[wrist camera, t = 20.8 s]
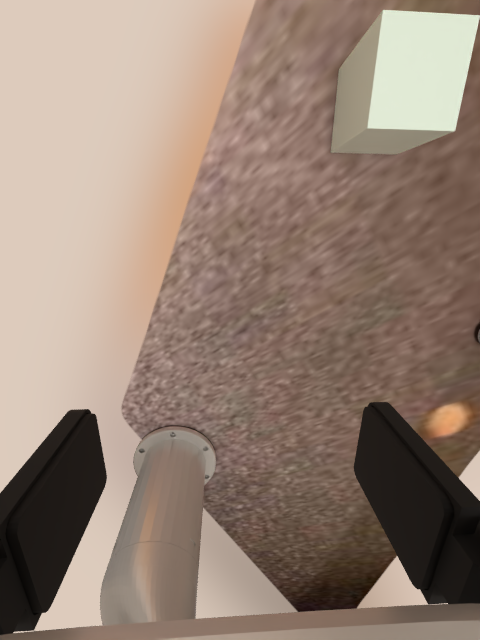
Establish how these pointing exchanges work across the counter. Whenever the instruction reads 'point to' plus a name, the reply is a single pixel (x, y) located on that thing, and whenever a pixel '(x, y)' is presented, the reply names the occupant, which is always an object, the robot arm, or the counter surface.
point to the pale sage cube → (403, 82)
